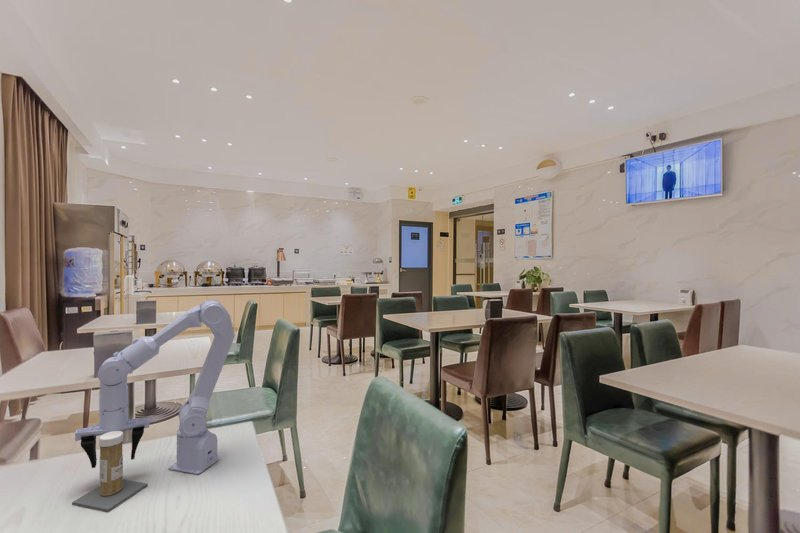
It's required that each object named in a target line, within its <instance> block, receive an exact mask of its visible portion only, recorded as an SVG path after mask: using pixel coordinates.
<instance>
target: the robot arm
mask: <svg viewBox="0 0 800 533" xmlns="http://www.w3.org/2000/svg"><path fill="white" fill-rule="evenodd" d="M231 317H232V316H231V314H230V313H229V312H228V310H227V309H226V308H225V306H224V305H223V304H222V303H221V302H220V301H219V300H217V299H207V300H204V301H203V302H201V303H200V305H199V304H198V305H195V306H194V307H192V308H190V309H188V310H187V311H186V312H184V313H183V314H181V315H180V316H178V317H177V318H175V319H174V320H173V321H171V322H170V323H169V324H167V325H166V326H165V327H163V328H162V329H161V330H159V331H158V332H157V333H155V334H153V335H152V336H145V335H143V336H141V337H140V338H138V337H136V338H133V340H132V343H131V344H130V345H128V346H127V347H125V348H123V349H122V350H121V351H116V352H114V353H113V356H110V357H109V358H107V359H105V360H104V361H103V362H102V364H101V365H100V367H99V369H98V371H97V378H98V380H99V393H98V396H99V397H98V398H99V399H98V404H99V405H98V406H99V407H98V410H99V412H98V413H99V415H98V416H99V417H98V418H99V420H98V424H94V425H92V426H89V427H85V428H79V429H76V430H75V433H74V440H75V441H76V442H78V441H80V446H81V448H82V449H83V451H84V452H85V453H86V455H87V457H88V460H89V462H90V466H91V469H94V468H97V467H96V466H97V437H100V436H101V435H103V434H105V433H108V432H111V431H122V432H125V431H131V452H130V453H131V454H130V460H135V459H136V458H135V456H136V451H137V448H138V445H139V443H140V441H141V439H142V437H143V435H144V433H145V429H148V428H150V417H143V418H142V417H141V418H129V385H128V375H129V373H130V372H134V371H135V370H138V369H139V368H140V367H142V366H143V365H144V364H145V363H147V362H148V361H150V360H152V359H153V358H154V357H156V356H157V355H159V352H160V348H161V346H163V345H164V344H166V343H167V342H168V341H170V340H172V339H174V338H176V337H177V336H178V335H179V334H182V333H183V332H184V331H186V330H187V329H190V328H201V327H202V324H201V323H203V324H204V325H205V326H206V327H207V328H209V329H210V331H211V333H212V334H213V340H212V342H211V344H210V347H209V350H208V351H207V352H208V353H207V355H206V357H205V359H204V362H203V365H202V367H201V369H200V372H199V375H198V377H197V380H196V382H195V384H194V388H193V390H192V392H191V393H190V394H189V395H188V398H187V400H186V402H185V403H184V404H182V406H181V407H180V408H179V411H178V419H179V422H178V423H179V425H178V430H177V431H176V462H174V463H173V464H171V465H169V466H168V470H171V471H177V472H184V473H188V474H194V475H199V474H200V475H201V473H202V472H204V471H205V470H207V469H208V468H209V467H210V466H212V465H213V464H215V463H216V462H217V461H218V460H219V459H220V457H219V456H218V437H217V435H216V434H215V433H214V432H211V431H210V430H209V429H208V425H207V423H208V422H207V414H208V411H209V407H210V402H211V398H212V395H213V392H214V390H215V388H216V385H217V383H218V380H219V377H220V375H221V372H222V369H223V367H224V365H225V362H226V360H227V358H228V355H229V352H230V349H231V347H232V344H233V341H234V339H235V330H234V327H233V323H232V320H231Z"/></svg>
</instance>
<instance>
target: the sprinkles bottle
mask: <svg viewBox="0 0 800 533" xmlns="http://www.w3.org/2000/svg"><path fill="white" fill-rule="evenodd" d="M98 437H99V440H98V445H99V481H100V482H99V483H100V484H99V486H100V495H102V496H109V495H113V494H115V493H117V492H119V491H120V490H121V489H122V488H123V481H122V479H124V478H123V475H124V462H123V460H124V459H123V458H124V454H123V442H124V431H111V432H108V433H105V434H103V435H100V436H98Z"/></svg>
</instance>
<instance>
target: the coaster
mask: <svg viewBox="0 0 800 533" xmlns="http://www.w3.org/2000/svg"><path fill="white" fill-rule="evenodd" d="M122 481H123V488H122V489H121V490H120V491H119V492H117V493H115V494H113V495H109V496H102V495H100V485H99V486H97V487H96V488H93V489H92V490H90V491H88V492H87V493H85V494H84V495H81V496H80V497H79V498H77V499H74V500H73V501H71V505H72V506H77V507H81V508H85V509H91V510H95V511H100V512H104V513H105V512H106V513H109V512H111V511H112V510H114V509H115V508H117V507H119V506H120V505H121V504H123V503H124V502H126V501H128V500H129V499H130V498H132V497H133V496H135V495H136V494H138V493H139V492H141V491H142V490H144V489H145V488H147V487H148V485H149V484H148V483H149V482H148V483H146V482H142V481H136V480H131V479H126V478H125V479H124V478H123V479H122Z"/></svg>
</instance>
